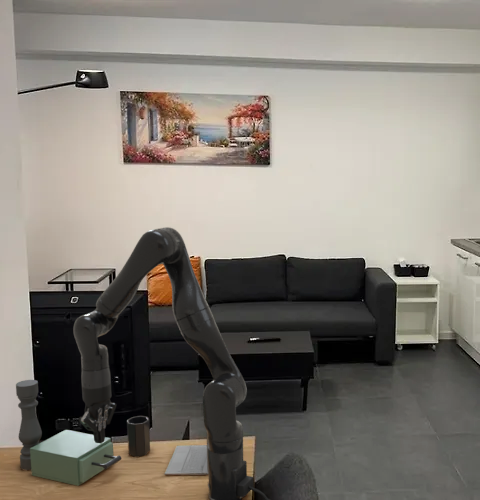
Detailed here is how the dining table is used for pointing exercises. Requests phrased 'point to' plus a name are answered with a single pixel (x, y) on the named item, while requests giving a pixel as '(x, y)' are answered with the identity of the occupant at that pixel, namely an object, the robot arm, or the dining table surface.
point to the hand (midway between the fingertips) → (99, 441)
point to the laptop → (189, 460)
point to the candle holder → (28, 420)
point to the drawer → (97, 461)
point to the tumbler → (138, 436)
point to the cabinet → (63, 456)
